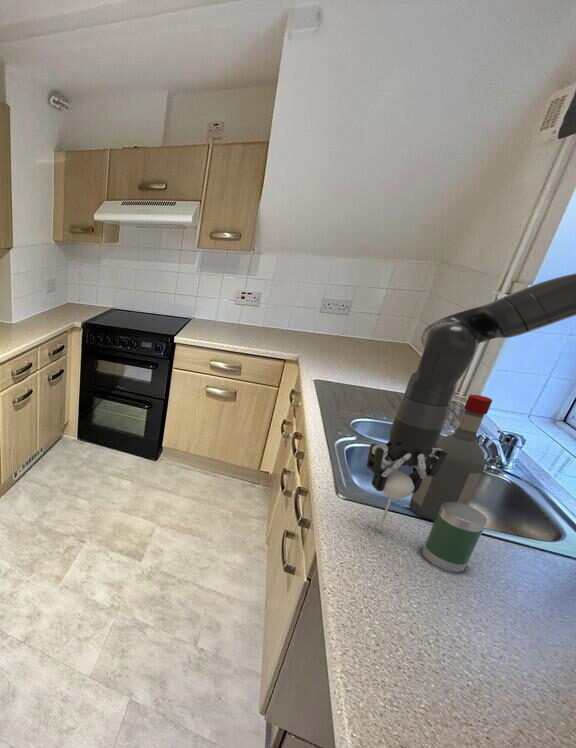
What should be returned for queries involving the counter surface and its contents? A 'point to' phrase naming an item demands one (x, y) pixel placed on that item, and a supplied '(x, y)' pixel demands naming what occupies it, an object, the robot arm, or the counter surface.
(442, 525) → the can
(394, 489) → the lollipop
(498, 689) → the counter surface
